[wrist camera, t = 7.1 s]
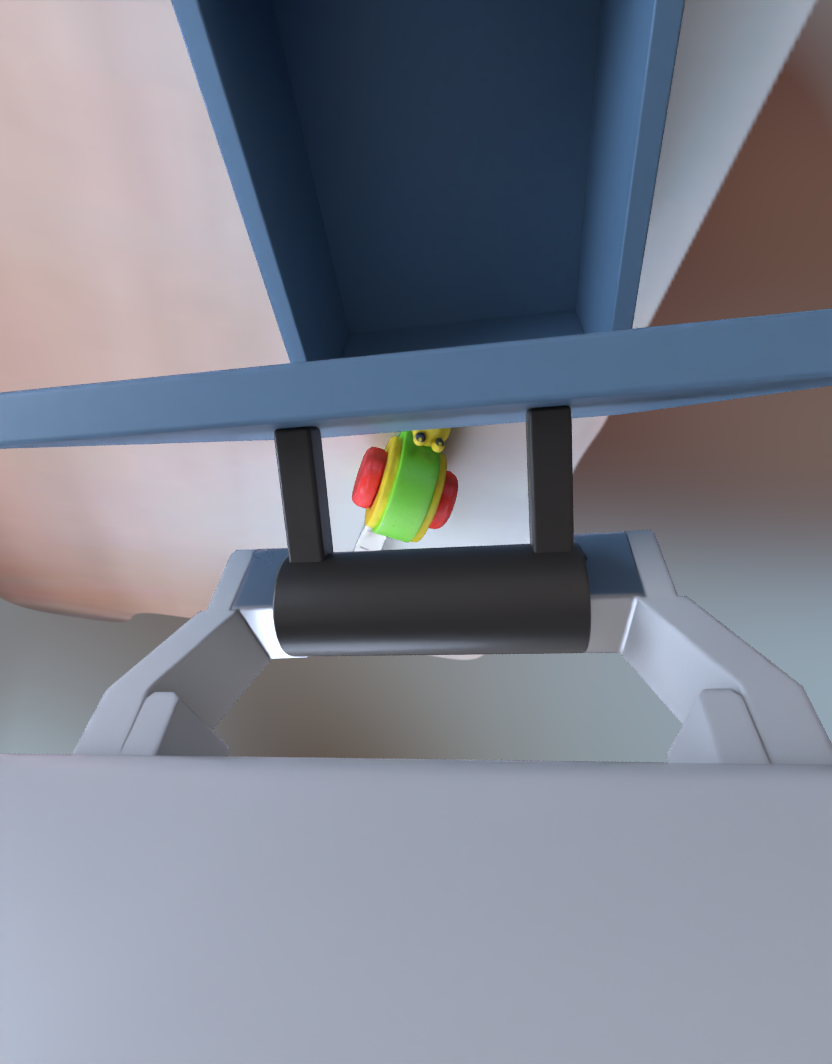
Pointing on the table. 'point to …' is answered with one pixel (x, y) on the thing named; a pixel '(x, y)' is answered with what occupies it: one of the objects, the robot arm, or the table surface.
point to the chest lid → (432, 403)
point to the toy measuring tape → (404, 488)
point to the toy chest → (439, 161)
